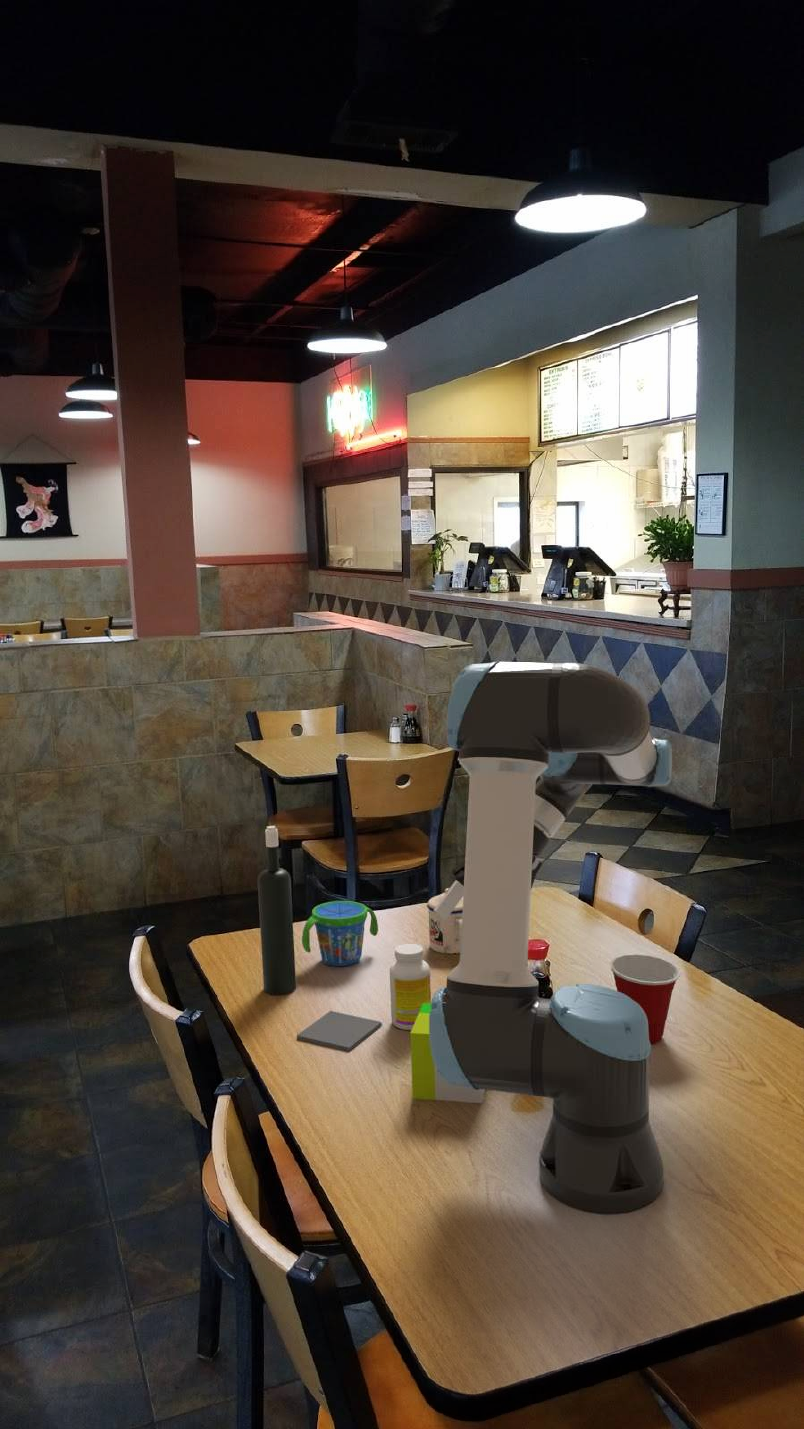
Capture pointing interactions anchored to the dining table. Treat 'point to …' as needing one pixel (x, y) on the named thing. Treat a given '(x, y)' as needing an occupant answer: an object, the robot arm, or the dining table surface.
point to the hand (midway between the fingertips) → (458, 927)
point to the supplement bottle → (408, 985)
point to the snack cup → (339, 931)
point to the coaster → (339, 1030)
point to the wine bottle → (276, 922)
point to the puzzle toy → (433, 1068)
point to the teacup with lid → (445, 927)
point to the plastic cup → (647, 987)
